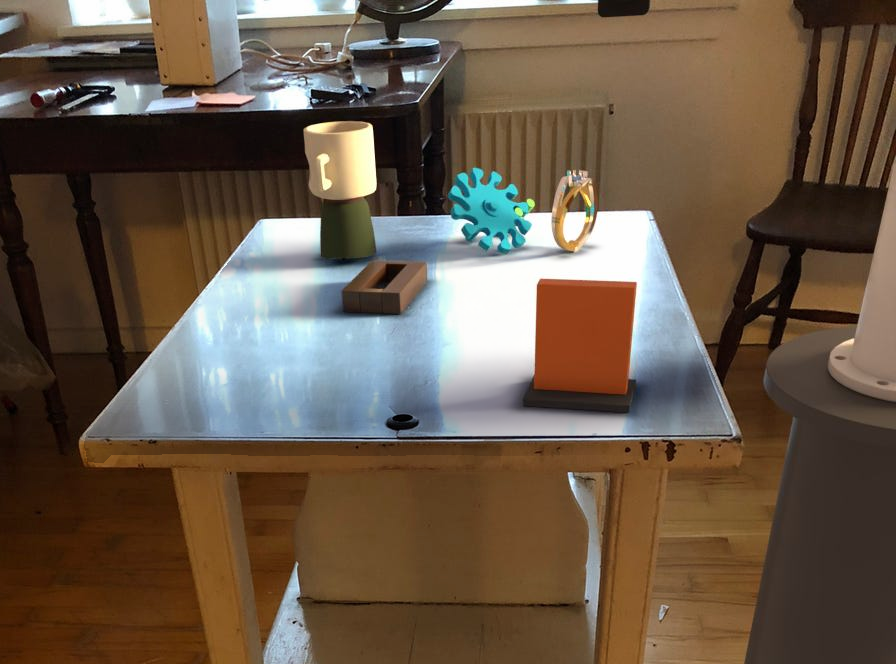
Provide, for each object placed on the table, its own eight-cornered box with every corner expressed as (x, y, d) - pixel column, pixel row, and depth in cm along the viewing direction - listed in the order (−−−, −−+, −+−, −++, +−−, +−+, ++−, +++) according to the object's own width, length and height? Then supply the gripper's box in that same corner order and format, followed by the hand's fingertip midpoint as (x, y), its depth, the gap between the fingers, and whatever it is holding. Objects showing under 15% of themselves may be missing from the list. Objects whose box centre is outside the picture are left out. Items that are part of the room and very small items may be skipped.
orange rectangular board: (536, 382, 76) (539, 278, 71) (627, 388, 74) (637, 281, 70) (533, 389, 75) (536, 284, 70) (625, 395, 73) (635, 287, 68)
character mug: (340, 242, 112) (329, 116, 105) (397, 246, 110) (390, 117, 102) (297, 270, 105) (281, 136, 97) (357, 275, 102) (346, 138, 94)
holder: (427, 281, 99) (426, 261, 98) (400, 314, 92) (399, 293, 91) (373, 279, 101) (372, 259, 100) (343, 311, 93) (341, 290, 92)
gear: (472, 248, 102) (441, 163, 103) (446, 280, 107) (417, 199, 108) (554, 243, 107) (523, 163, 108) (526, 274, 112) (497, 197, 113)
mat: (635, 386, 76) (636, 379, 76) (629, 413, 72) (629, 405, 72) (534, 380, 78) (534, 373, 78) (522, 406, 74) (522, 398, 74)
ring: (582, 241, 108) (585, 162, 103) (605, 246, 106) (610, 166, 101) (540, 256, 104) (543, 175, 100) (564, 261, 103) (567, 179, 98)
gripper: (717, -393, 48) (683, 19, 58) (715, -334, 61) (687, -7, 71) (563, -371, 49) (556, 26, 60) (594, -318, 63) (584, -1, 73)
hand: (628, 7), depth 65 cm, fingers open, 9 cm apart
